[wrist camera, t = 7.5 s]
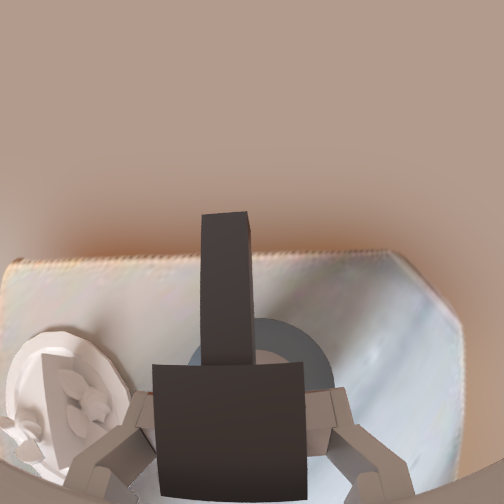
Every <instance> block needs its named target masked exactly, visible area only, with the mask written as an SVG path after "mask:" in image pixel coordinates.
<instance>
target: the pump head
mask: <svg viewBox="0 0 504 504" xmlns="http://www.w3.org/2000/svg"><path fill="white" fill-rule="evenodd" d="M200 335H201V366H191V365H155V364H152V375H153V408H154V427H155V442H156V454H157V465H158V475H159V484H160V493H161V496H166V497H173V498H181V499H190V500H201V501H214V502H241V503H259V502H285V501H299V500H307V435H306V406H305V384H304V365H303V362H292V363H277V364H257V365H256V350H255V326H254V302H253V278H252V254H251V231H250V225H249V220H248V214H247V211H246V212H231V213H218V214H206V215H202V225H201V272H200Z"/></svg>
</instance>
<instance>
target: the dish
mask: <svg viewBox="0 0 504 504" xmlns="http://www.w3.org/2000/svg"><path fill="white" fill-rule="evenodd" d="M131 399H132V398H131V395H130V391H129V389H128V387H127V386H126V384H125V382H124V381H123V379H122V378H121V376H120V374H119V373H118V371H117V369H116V368H115V366H114V364H113V363H112V361H111V360H110V359H109V358H108V357H106V356H105V355H104V354H103V353H102V352H101V351H100V350H99V349H98V348H97V347H95V346H94V345H93V344H92V343H91V342H90V341H88V340H85V339H83V338H80V337H78V336H75V335H73V334H71V333H68V332H65V331H57V332H42V333H40V334H38V335H37V336H35V337H33V338H32V339H30V340H28V341H27V342H25V343H24V344H23V346H22V347H21V349H20V350H19V351H18V353H17V354H16V356H15V357H14V359H13V360H12V363H11V367H10V370H9V373H8V377H7V381H6V410H7V414H8V418H7V417H3V416H2V417H0V429H3V431H5V432H6V433H7V434H8V435H10V436H11V437H12V438H13V439H15V440H16V442H17V444H18V445H19V447H18V448H17V449H16V450H15V451H14V453H15V455H16V456H17V458H19V459H20V460H21V461H23V462H25V463H26V464H31V465H32V466H33V467H34V468H35V470H36V471H37V472H38V473H39V474H40V475H41V476H42V477H43V478H44V479H46V480H48V481H51V482H53V483H56V484H58V485H61V486H63V483H64V481H65V478H66V476H67V473H68V470H69V468H70V466H71V463H72V461H73V458H74V457H76V456H77V455H78V454H80V453H81V452H82V451H84V450H85V449H87V448H88V447H89V446H91V445H92V444H93V443H95V442H96V441H97V440H99V439H100V438H101V437H103V436H104V435H105V434H107V433H108V432H109V431H111V430H112V429H113V428H115V427H116V426H117V425H122V423H123V420H124V417H125V415H126V412H127V409H128V407H129V404H130V401H131Z"/></svg>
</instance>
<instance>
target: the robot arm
mask: <svg viewBox="0 0 504 504" xmlns="http://www.w3.org/2000/svg"><path fill="white" fill-rule="evenodd" d="M305 406H306V435H307V457H310V456H322V455H326V456H327V457H328V459H329V460H330V461H331V462H332V463H333V464H334V465H335V466H336V467H337V469H338V470H339V471H340V472H341V473H342V474H343V475H344V476H345V477H346V478H347V479H348V480H349V482H350V483H351V484H352V485H353V486H352V488H351V490H350V492H349V493H348V495H347V497H346V499H345V501H344V504H504V458H503V459H501V460H500V461H498V462H496V463H494V464H492V465H490V466H488V467H486V468H484V469H481V470H479V471H477V472H475V473H473V474H470V475H468V476H466V477H463V478H461V479H458V480H456V481H453V482H451V483H448V484H446V485H443V486H440V487H438V488H435V489H432V490H429V491H426V492H423V493H420V494H417V495H415V492H414V488H413V485H412V481H411V478H410V474H409V471H408V468H407V464H406V462H405V461H404V460H402V459H401V458H400V457H398V456H397V455H396V454H395V453H393V452H392V451H391V450H390V449H388V448H387V447H386V446H385V445H383V444H382V443H381V442H380V441H378V440H377V439H376V438H375V437H373V436H372V435H371V434H370V433H368V432H367V431H366V430H365V429H364V428H362V427H361V426H360V425H359V424H357V425H354V422H353V418H352V414H351V410H350V406H349V402H348V398H347V394H346V390H345V388H344V387H339V388H331V389H320V390H311V391H305ZM156 457H157V454H156V442H155V427H154V408H153V392H146V391H136V392H135V393H134V394H133V396H132V399H131V401H130V404H129V407H128V409H127V412H126V415H125V417H124V420H123V423H122V425H117V426H116V427H115V428H113V429H112V430H111V431H109V432H108V433H107V434H105V435H104V436H103V437H101V438H100V439H99V440H97V441H96V442H95V443H93V444H92V445H91V446H89V447H88V448H87V449H85V450H84V451H82V452H81V453H80V454H78V455H77V456H76V457H74V458H73V461H72V463H71V466H70V468H69V470H68V473H67V476H66V478H65V481H64V483H63V486H61V485H58V484H56V483H53V482H51V481H48V480H46V479H43V478H41V477H38V476H36V475H34V474H31V473H29V472H27V471H25V470H23V469H21V468H18V467H16V466H14V465H12V464H10V463H8V462H6V461H4V460H3V459H1V458H0V504H137V500H138V498H137V497H136V495H135V494H134V493H133V492H132V491H131V490H130V489H128V488H127V487H128V486H129V485H130V484H131V483H132V482H133V481H134V479H135V478H136V477H137V476H138V475H139V474H140V473H141V472H142V471H143V470H144V469H145V468H146V467H147V466H148V465H149V464H150V463H151V462H152V461H153V460H154V459H155V458H156Z"/></svg>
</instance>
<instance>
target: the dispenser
mask: <svg viewBox="0 0 504 504" xmlns="http://www.w3.org/2000/svg"><path fill="white" fill-rule="evenodd" d="M254 326H255V350H256V365H257V364H277V363H292V362H303V365H304V384H305V391H311V390H320V389H331V388H335V385H334V377H333V373H332V370H331V367H330V364H329V362H328V359H327V358H326V356H325V354H324V353H323V351H322V350H321V348H320V347H319V346H318V345H317V343H316V342H315V341H314V340H313V339H312V338H311V337H309V336H308V335H307V334H305V333H304V332H303V331H301V330H300V329H298V328H296V327H294V326H292V325H290V324H287V323H285V322H281V321H277V320H273V319H265V318H254ZM188 365H191V366H201V345H200V346H199V347H198V348H197V350H196V351H195V353H194V354H193V356H192V358H191V360H190V362H189V364H188Z"/></svg>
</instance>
